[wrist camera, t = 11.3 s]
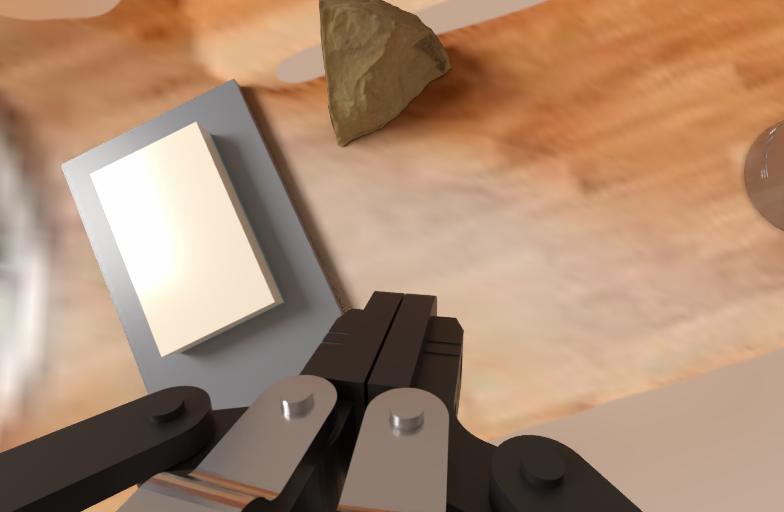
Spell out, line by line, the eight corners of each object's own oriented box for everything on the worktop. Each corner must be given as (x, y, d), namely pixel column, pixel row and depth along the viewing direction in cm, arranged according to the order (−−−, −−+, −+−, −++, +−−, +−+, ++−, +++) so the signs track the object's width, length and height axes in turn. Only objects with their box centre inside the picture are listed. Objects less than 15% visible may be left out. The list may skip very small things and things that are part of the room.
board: (370, 371, 34) (368, 373, 33) (184, 460, 34) (175, 466, 33) (240, 85, 37) (233, 78, 36) (72, 169, 38) (60, 164, 36)
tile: (274, 301, 31) (196, 121, 33) (161, 357, 31) (90, 174, 33) (285, 302, 34) (212, 134, 36) (180, 353, 34) (113, 183, 36)
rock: (454, -5, 34) (325, -9, 34) (479, -6, 27) (315, -10, 26) (443, 134, 40) (331, 133, 39) (461, 165, 32) (325, 165, 32)
